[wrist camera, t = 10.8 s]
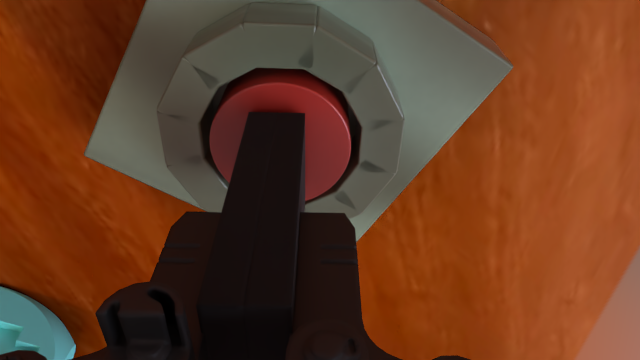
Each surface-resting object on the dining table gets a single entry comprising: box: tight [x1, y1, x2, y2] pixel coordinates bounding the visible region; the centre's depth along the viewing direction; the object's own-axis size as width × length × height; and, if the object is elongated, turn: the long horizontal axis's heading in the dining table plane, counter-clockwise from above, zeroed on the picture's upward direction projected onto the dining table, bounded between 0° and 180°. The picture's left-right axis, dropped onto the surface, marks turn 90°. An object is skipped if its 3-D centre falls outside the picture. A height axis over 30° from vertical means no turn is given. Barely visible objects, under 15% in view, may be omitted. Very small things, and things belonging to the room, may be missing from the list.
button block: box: [84, 0, 513, 242], centre depth 16 cm, size 10×10×4 cm
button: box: [209, 68, 351, 201], centre depth 15 cm, size 4×4×2 cm
